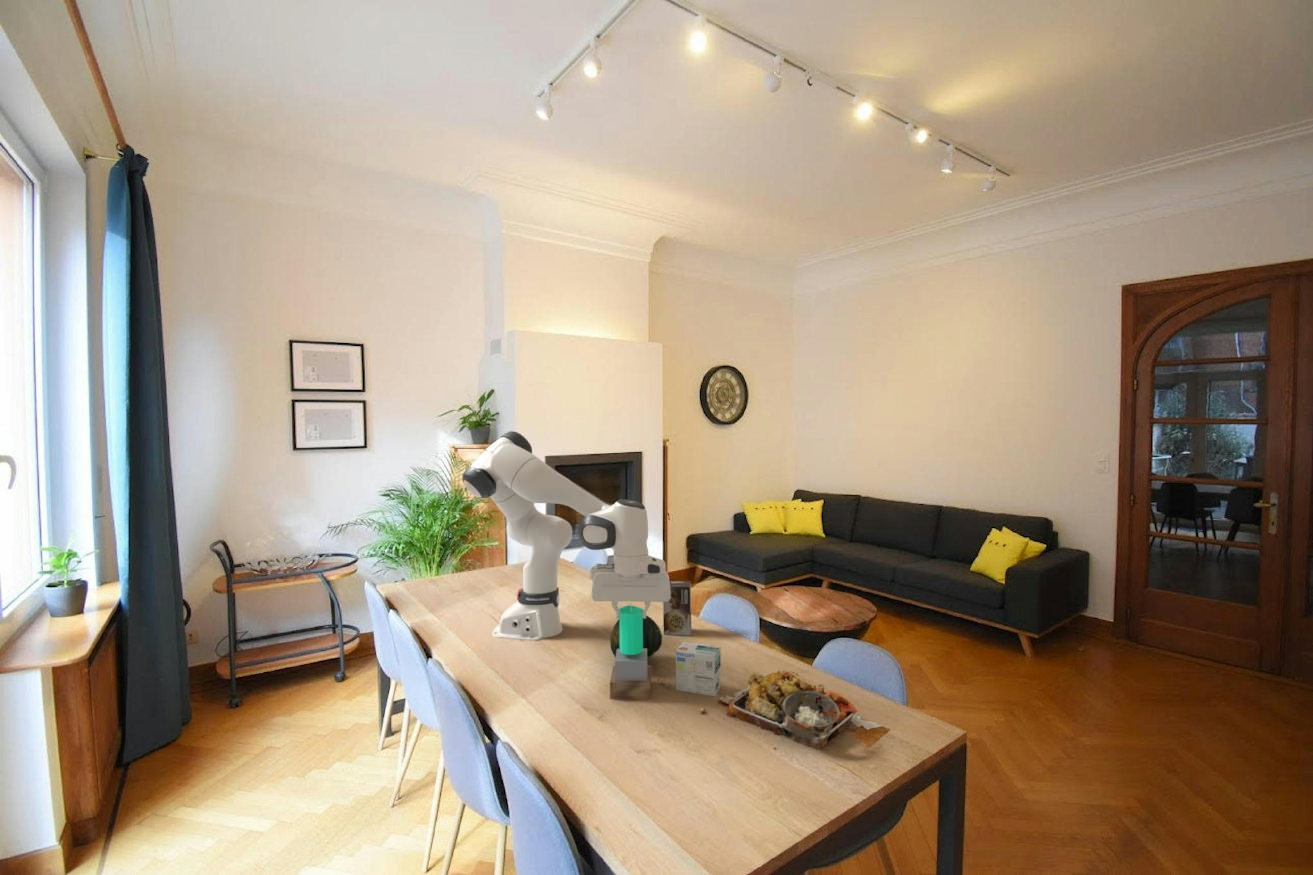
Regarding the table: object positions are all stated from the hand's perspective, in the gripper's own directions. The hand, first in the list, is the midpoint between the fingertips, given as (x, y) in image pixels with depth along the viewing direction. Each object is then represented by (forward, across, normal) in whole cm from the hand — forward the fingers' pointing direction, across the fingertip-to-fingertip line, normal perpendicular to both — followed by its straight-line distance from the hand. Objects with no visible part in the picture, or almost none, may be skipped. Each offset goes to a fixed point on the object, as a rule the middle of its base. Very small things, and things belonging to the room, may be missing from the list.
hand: (631, 617), depth 149 cm
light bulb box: (+19, +17, +2) cm, 26 cm away
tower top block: (+15, 0, 0) cm, 15 cm away
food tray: (+20, +38, -14) cm, 45 cm away
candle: (+8, 0, 0) cm, 9 cm away
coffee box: (+20, +12, +42) cm, 48 cm away
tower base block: (+20, 0, 0) cm, 20 cm away
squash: (+19, 0, +17) cm, 26 cm away
